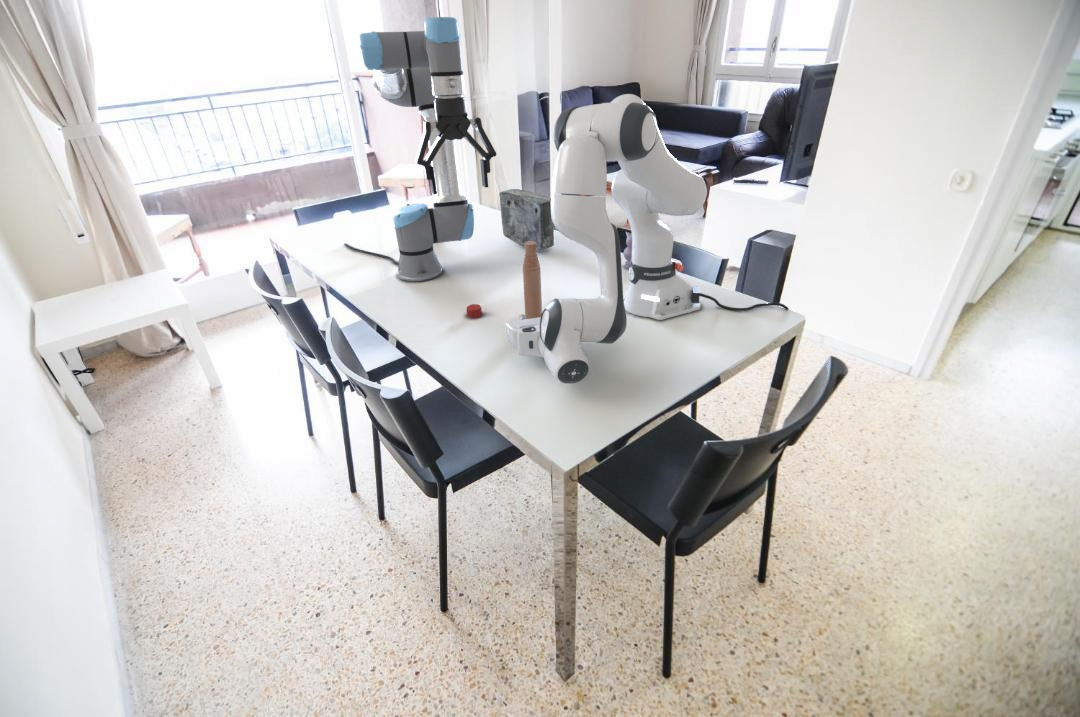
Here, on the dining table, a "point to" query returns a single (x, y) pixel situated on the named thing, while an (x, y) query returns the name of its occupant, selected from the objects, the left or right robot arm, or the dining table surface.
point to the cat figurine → (628, 250)
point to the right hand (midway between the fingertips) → (539, 314)
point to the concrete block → (527, 218)
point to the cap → (474, 311)
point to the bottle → (532, 282)
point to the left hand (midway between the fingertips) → (460, 189)
